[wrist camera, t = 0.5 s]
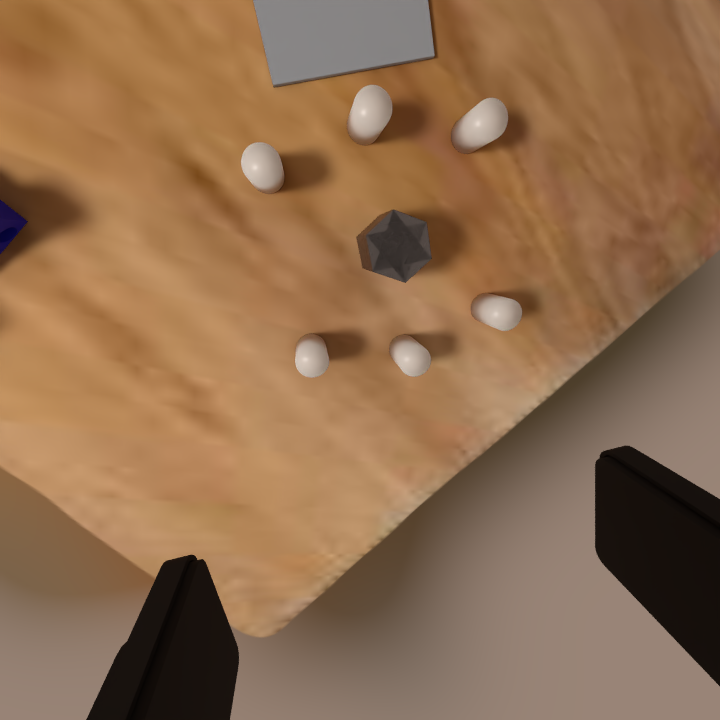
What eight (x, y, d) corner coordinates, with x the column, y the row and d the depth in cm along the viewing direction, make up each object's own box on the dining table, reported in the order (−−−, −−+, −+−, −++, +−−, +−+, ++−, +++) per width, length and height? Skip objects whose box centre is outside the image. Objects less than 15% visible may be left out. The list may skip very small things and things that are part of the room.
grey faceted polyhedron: (353, 220, 31) (362, 215, 26) (405, 209, 31) (423, 203, 26) (365, 283, 32) (376, 289, 28) (415, 271, 33) (434, 276, 28)
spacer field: (237, 130, 28) (226, 111, 24) (477, 84, 29) (503, 60, 25) (305, 386, 34) (306, 403, 30) (501, 338, 36) (524, 349, 32)
